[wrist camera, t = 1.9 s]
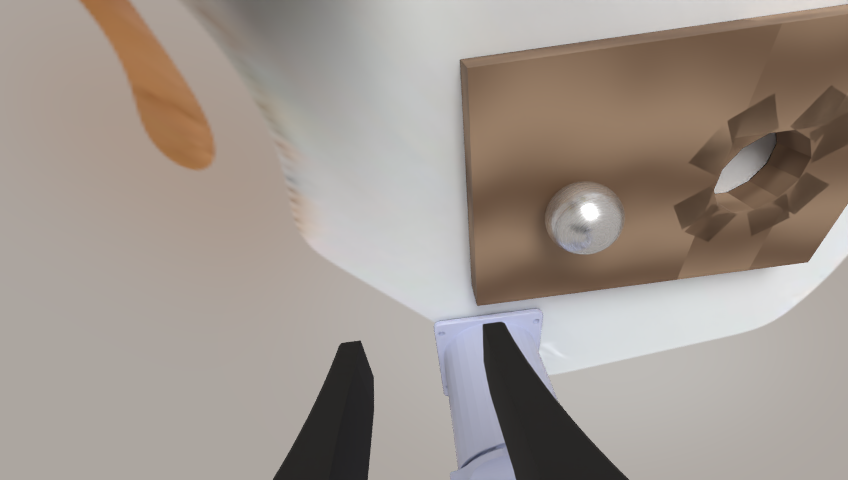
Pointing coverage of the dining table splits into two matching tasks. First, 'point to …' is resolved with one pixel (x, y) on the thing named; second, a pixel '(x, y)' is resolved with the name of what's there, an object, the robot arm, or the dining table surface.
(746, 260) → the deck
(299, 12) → the dining table surface
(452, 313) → the dining table surface
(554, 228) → the ball
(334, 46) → the dining table surface
